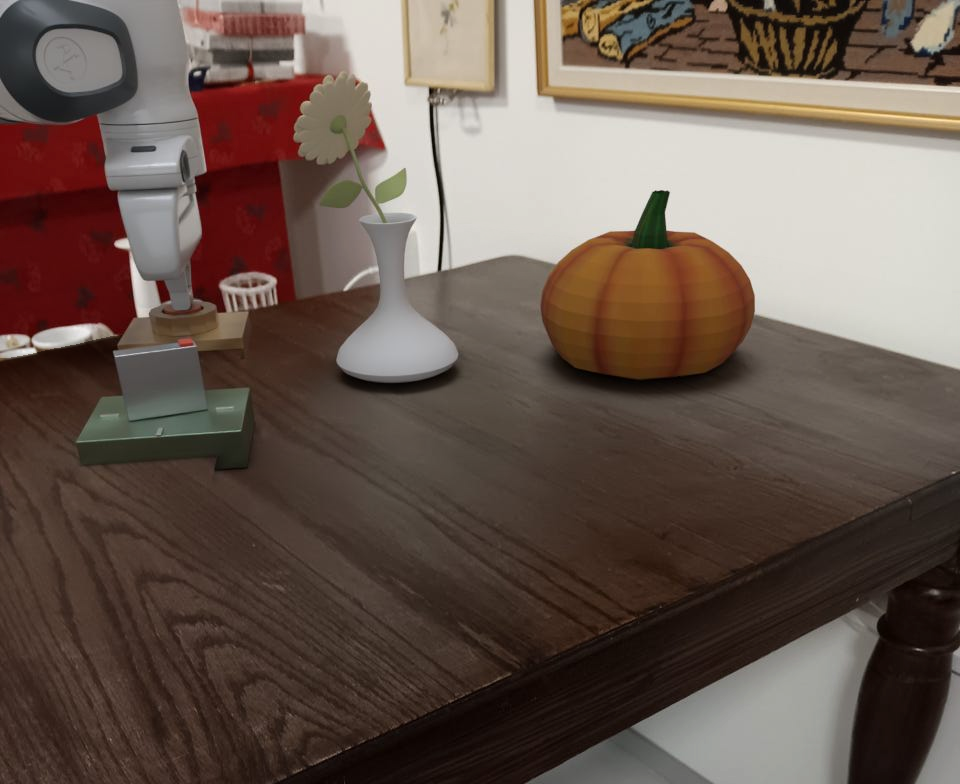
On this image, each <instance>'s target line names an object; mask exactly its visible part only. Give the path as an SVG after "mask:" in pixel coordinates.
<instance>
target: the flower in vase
mask: <svg viewBox="0 0 960 784" xmlns="http://www.w3.org/2000/svg"><path fill="white" fill-rule="evenodd" d="M356 83H357V81H356V75H355V73H350V74H349V73H348V72H347V71H345V70H343V71H341V72H340V73H339V74H338V76H337V77H336V78H335V79H334V77H333V76H332V75H331V74H328V75H326V76H325V77H324V78H323V80H322V83H319V84H316V85H315V86H314V87H313V91H312V92H311V93H310V95H309V100H305V101H303V102H302V103H301V104H300V107H299V111H300V113H301V114H302V115H300V116H299V117H297V119H296V122H295V123H294V125H293V130H294V134H293V137H292V139H293V141H294V142H295V143H297V144H299V143H301V144H300V145H299V147H298V150H297V154H298V156H299V157H300V158H301V157H302V158H304V157H305V160H306V161H314V160H315V159H316V165H322V166H324V165H326V164H328V165H332V164H333V163H334V162H335V161H336V160H337V159H338V160H339V159H340V160H341V159H343V158H344V157H345V156H346V154H347V153H348V152H350V155H351V157H352V161H353V163H354V167H355V170H356V173H357V177H358V180H359V182H360V183H359V182H357V181H354V180H352V179H347V178H345V179H341V180H339V181H337V182H336V183H334V184H332V185H331V186H330V187H329V188H328V189H327V190H326V191H325V193H323V195H322V197H321V199H320V201H319V203H318V206H320V207H326V208H327V207H328V208H335V209H345V208H348V207H349V206H351V205H352V204H353V203H354V202H355V201H356V199H357V198H358V197H359V195H360V194H361V192H362V189H363V190H364V192H365V193H366V195H367V197H368V198H369V200H370V202H371V203H372V204H373V206H374V208H375V209H376V211H377V213H372V214H367V215H363V216H361V217H359V218H358V221H359V223H360V224H361V225H362V227H363V228H364V229H365V231H366V233H367V234H368V236H369V238H370V239H369V240H370V241H371V243H372V246H373V249H374V250H373V251H374V253H375V257H376V262H377V267H378V276H379V301H378V304H377V306H376V308H375V310H374V311H373V313H372V314H370V315H369V317H368V318H367V319H366V320H365V321H364V322H363V323H361V324H360V325H359V326H358V327H357V328H356V329H355V330H354V331H353V332H352V333H351V334H350V335H349V336H348V337H347V338H346V340H345V341H344V342H343V343H342V345H341V346H340V347H339V349H338V351H337V357H336V359H335V360H336V364H337V366H338V367H339V368H340V369H341V370H342V371H343V372H344V373H345V374H346V375H349V376H351V377H354V378H355V379H360V380H363V381H367V382H372V383H383V384H398V383H399V384H402V383H410V382H418V381H422V380H426V379H429V378H433V377H435V376H439V375H440V374H442V373H444V372H446V371H448V370H449V369H451V368H453V366H454V364H455V363H456V362H457V360H458V357H459V352H458V349H457V347H456V344H455V342H454V341H453V340H452V339H451V338H450V337H449V336H448V335H447V334H446V333H444V332H443V331H442V330H441V329H439V327H437V326H436V325H435V324H433V323H432V322H431V321H429V320H428V319H426V318H425V317H423V316H422V315H421V314H420V313H419V312H417V311H416V310H415V308H414V307H413V306H412V305H411V303H410V301H409V299H408V294H407V291H406V283H405V254H406V246H407V241H408V238H409V233H410V232H411V230H412V227H413V226H414V224H415V222H416V221H417V219H418V218H417V216H416V215H415V214H412V213H407V212H383V210H382V209H381V207H380V205H379V204H385V203H388V202H390V201H392V200H396V199H398V198H399V197H401V196H402V195H403V194H404V192H405V190H406V188H407V182H408V181H407V179H408V178H407V168H406V167H404V168H402V169H401V170H400V171H398V172H397V173H395V174H394V175H392V176H391V177H389V178H387V179H385V180H383V181H381V182H380V183H378V184H377V185H376V186H375V188H374V195H373V194H372V193H371V191H370V189H369V188H368V185H367V184H366V181H365V180H364V177H363V174H362V171H361V167H360V164H359V161H358V158H357V154H356V151H355V150H356V149H357V147H358V146H359V143H360V142H359V140H360V139H362V138H363V137H364V136H365V133H366V129H367V128H368V127H370V125H371V123H372V118H371V117H370V114H371V110H372V107H373V104H372V102H371V101H370V98H371V95H372V93H371V91H370V90H369V85H368V83H367V82H364V81H360V82H359V83H358V84H357V85H356Z"/></svg>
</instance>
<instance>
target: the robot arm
mask: <svg viewBox="0 0 960 784" xmlns="http://www.w3.org/2000/svg"><path fill="white" fill-rule="evenodd" d="M185 35H186V34H185V29H184V24H183V19H182V16H181V11H180V7H179V3H178V0H0V124H2V125H18V124H26V123H28V124H33V125H50V126H65V125H72V124H75V123H77V122H79V121H82V120H84V119H86V118H90V117H93V116H96V117H97V121H98V125H99V130H100V134H101V139H102V143H103V150H104V155H105V161H104V173H105V174H104V175H105V179H106V183H107V187H108V188H109V191H112V192H115V191H117V203H118V206H119V211H120V216H121V220H122V224H123V226H124V231H125V234H126V237H127V240H128V245H129V248H130V252H131V256H132V258H133V262H134V266H135V268H136V270H137V272H138V274H139V276H140V277H141V279H142V280H143V281H145V282H155V281H156V282H158V281H163V282H164V284H165V286H166V289H167V290H168V294H169V298H170V303H171V304H172V307H173V309H174V310H176V311H178V310H188V309H189V308H190V306H191V304H192V302H193V301H194V293H193V286H192V265H191V258H192V257H193V254H194V253H195V251H196V249H197V247H198V245H199V244H200V242H201V240H202V238H203V237H202V236H203V229H202V228H203V227H202V221H201V215H200V210H199V205H198V199H197V195H196V192H197V191H198V190H197V185H196V179H195V177H198V176H202V175H204V174H206V173H207V171H208V170H207V164H206V157H205V151H204V144H203V138H202V132H201V126H200V121H199V120H200V119H199V113H198V110H197V108H196V106H195V103H194V101H193V97H192V94H191V92H190V85H189V73H190V59H189V58H190V57H189V52H188V46H187V39H186V36H185Z"/></svg>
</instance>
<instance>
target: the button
mask: <svg viewBox="0 0 960 784" xmlns="http://www.w3.org/2000/svg"><path fill="white" fill-rule="evenodd" d="M199 311H201V306H200V304H197V303H192V304H191V306H190V308H189V309H188V310H178V311H176V310H174V309H173V307H172V305H169V306H166V307H165V308H164V312H165V314H169V315H183V314H190V313H196V312H199Z"/></svg>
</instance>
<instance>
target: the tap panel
mask: <svg viewBox="0 0 960 784" xmlns="http://www.w3.org/2000/svg"><path fill="white" fill-rule="evenodd" d="M205 395H206V400H207V406H208V409H207V410H200V411H193V412H187V413H180V414H173V415H166V416H160V417H153V418H146V419H140V420H133V421H129V419H128V416H127V412H126V407H125V403H124V399H123V395H111V396H101V397H100V398H99V401H98V403H97V404H96V406H95V408H94V409H93V410H92V413H91V415H90V417H89V418H88V420H87V421H86V423H85V425H84V426H83V429H82V430H81V432H80V433H79V435H78V437H77V439H76V440H75V445H76V448H77V452H78V457H79V460H80V464H81V466H82V467H85V466H96V465H97V466H99V465H111V464H113V465H114V464H125V463H126V464H128V463H138V462H139V463H140V462H155V461H166V460H167V461H169V460H180V459H181V460H182V459H194V458H195V459H196V458H210V457H216V460H215V464H214V469H213V471H219V470H233V469H247V468H248V465H249V459H250V454H251V453H250V452H251V447H252V442H253V435H254V431H255V430H254V428H255V423H256V419H255V412H254V405H253V399H252V393H251V388H250V387H234V388H220V389H205Z"/></svg>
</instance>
